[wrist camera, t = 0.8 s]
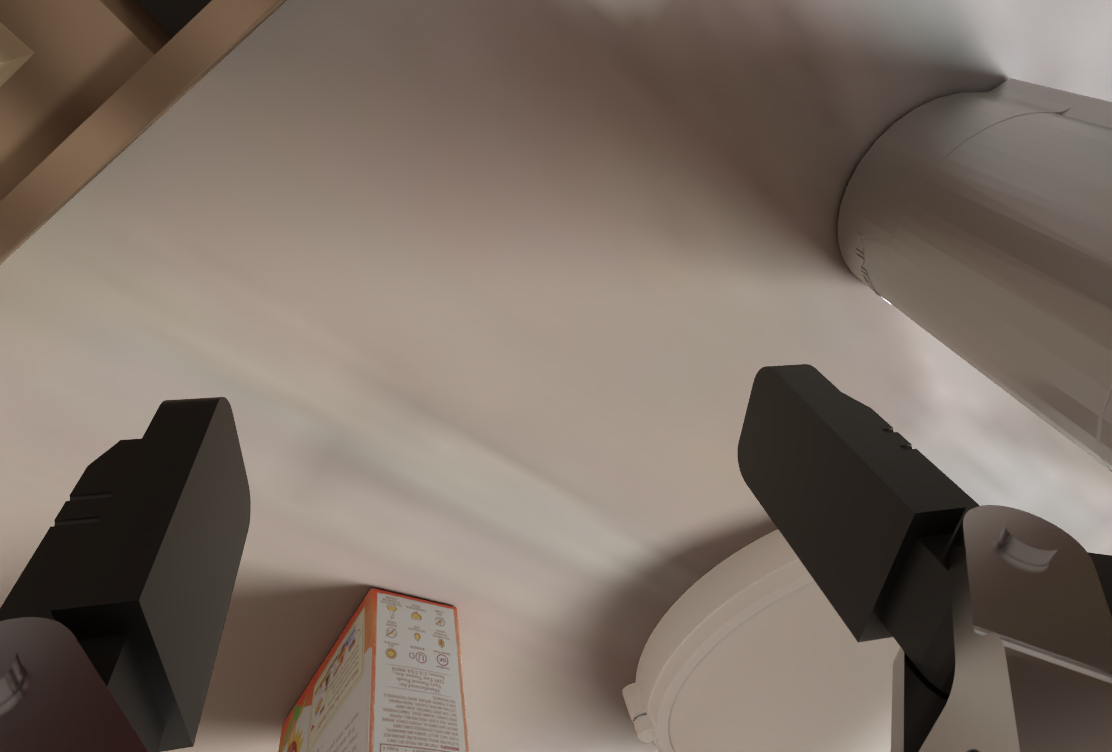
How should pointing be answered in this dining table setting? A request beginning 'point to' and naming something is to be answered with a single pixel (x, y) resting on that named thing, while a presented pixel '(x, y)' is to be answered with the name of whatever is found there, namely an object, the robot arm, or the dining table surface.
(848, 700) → the dome cover
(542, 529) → the dining table surface
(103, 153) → the wooden divided tray
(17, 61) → the maple block
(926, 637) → the robot arm
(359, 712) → the cracker box
